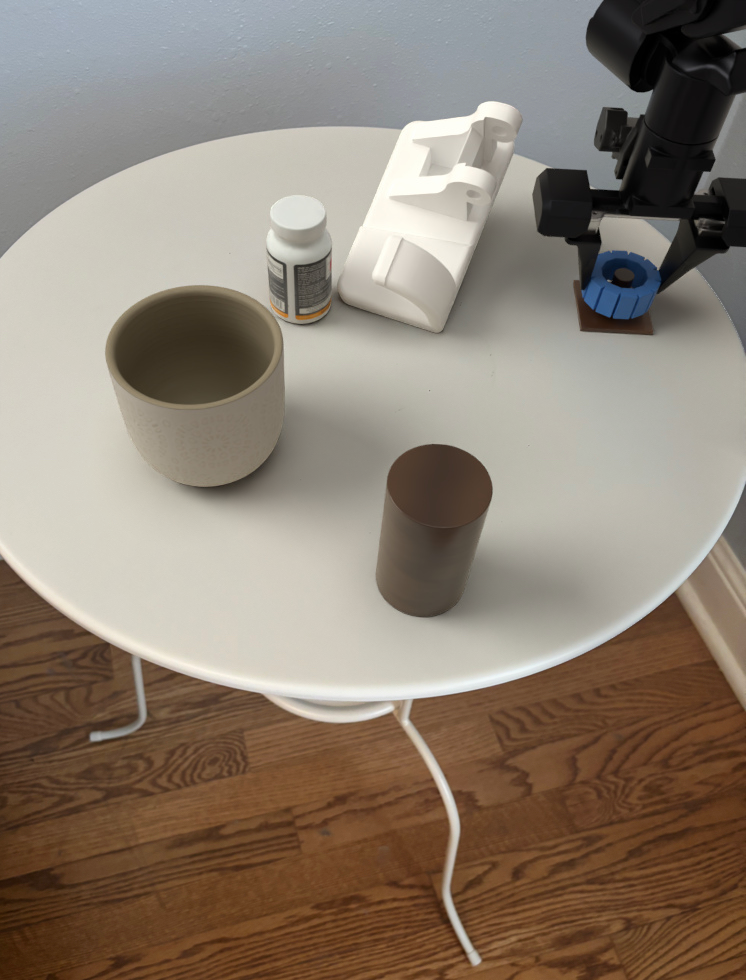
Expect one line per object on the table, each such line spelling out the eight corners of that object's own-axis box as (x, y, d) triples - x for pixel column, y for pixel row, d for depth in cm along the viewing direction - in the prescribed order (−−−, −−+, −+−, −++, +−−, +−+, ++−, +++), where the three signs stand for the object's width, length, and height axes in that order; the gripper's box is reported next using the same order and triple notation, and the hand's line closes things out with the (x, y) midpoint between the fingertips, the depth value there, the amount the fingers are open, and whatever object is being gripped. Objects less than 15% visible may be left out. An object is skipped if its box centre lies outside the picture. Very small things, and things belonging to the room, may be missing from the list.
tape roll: (645, 274, 79) (654, 252, 76) (656, 321, 75) (666, 299, 73) (577, 270, 79) (584, 248, 77) (585, 317, 75) (593, 295, 73)
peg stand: (641, 286, 80) (655, 252, 77) (652, 335, 76) (667, 301, 73) (572, 283, 80) (583, 248, 77) (580, 330, 76) (592, 297, 73)
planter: (311, 413, 70) (311, 312, 61) (246, 526, 63) (235, 432, 54) (178, 370, 72) (159, 266, 63) (103, 475, 66) (69, 376, 57)
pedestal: (463, 542, 63) (490, 446, 54) (466, 619, 60) (495, 531, 50) (376, 537, 63) (387, 440, 54) (374, 614, 60) (385, 525, 50)
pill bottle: (334, 287, 79) (336, 193, 70) (327, 329, 75) (329, 235, 67) (274, 282, 79) (269, 187, 70) (265, 324, 76) (259, 229, 67)
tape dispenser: (450, 358, 81) (445, 301, 68) (342, 323, 83) (318, 261, 70) (524, 173, 82) (532, 84, 69) (416, 144, 84) (405, 51, 72)
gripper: (779, 74, 68) (704, 238, 81) (549, 62, 68) (511, 228, 81) (816, 153, 61) (728, 317, 74) (562, 140, 62) (519, 306, 75)
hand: (618, 288), depth 76 cm, fingers closed on tape roll, 6 cm apart
